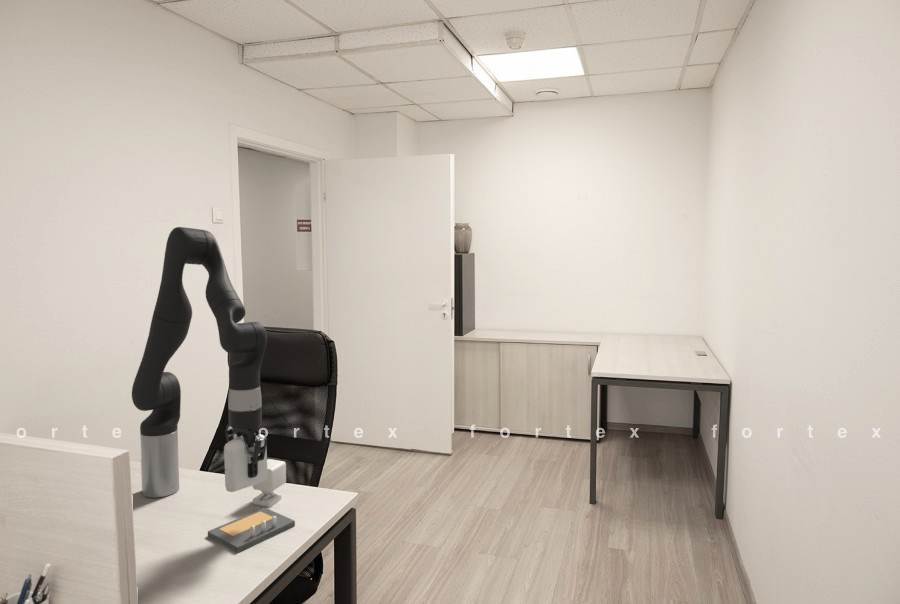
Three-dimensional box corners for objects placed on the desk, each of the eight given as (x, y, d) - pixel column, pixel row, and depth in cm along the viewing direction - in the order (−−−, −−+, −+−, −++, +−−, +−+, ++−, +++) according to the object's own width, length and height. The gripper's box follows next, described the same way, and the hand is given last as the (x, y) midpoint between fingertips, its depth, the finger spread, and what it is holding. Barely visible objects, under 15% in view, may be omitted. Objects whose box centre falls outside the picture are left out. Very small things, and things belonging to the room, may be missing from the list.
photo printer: (231, 494, 135) (230, 442, 134) (222, 489, 138) (220, 438, 137) (270, 480, 143) (269, 432, 142) (260, 476, 146) (259, 428, 144)
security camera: (286, 496, 159) (286, 461, 158) (270, 507, 153) (270, 470, 152) (267, 493, 161) (266, 458, 160) (250, 503, 155) (250, 467, 154)
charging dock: (207, 536, 137) (207, 521, 137) (264, 511, 150) (264, 498, 150) (237, 552, 130) (237, 536, 130) (294, 525, 143) (294, 511, 143)
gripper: (213, 403, 140) (215, 472, 141) (249, 414, 131) (251, 487, 133) (241, 397, 146) (242, 463, 147) (277, 407, 137) (278, 476, 139)
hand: (246, 474), depth 140 cm, fingers closed on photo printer, 4 cm apart
